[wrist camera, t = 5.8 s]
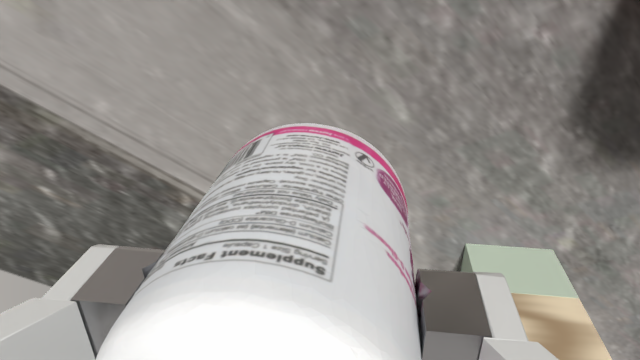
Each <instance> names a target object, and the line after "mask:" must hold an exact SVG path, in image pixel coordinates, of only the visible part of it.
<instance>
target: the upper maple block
mask: <svg viewBox="0 0 640 360" xmlns="http://www.w3.org/2000/svg"><path fill="white" fill-rule="evenodd" d="M511 294H512V297H513V300H514V303H515V305H516V308H517V311H518V313H519V316H520V319H521V322H522V324H523V327H524V330H525V332H526V335H527V338H528V341H531V342H538V343H540V344H541V345H542V346H543V347H544V348H546V349H547V350H548V351H549V352H550V353H552V354H553V355H554V356H555V357H556V358H558V359H559V360H612V359H611V357H610V355H609V353H608V351H607V349H606V347H605V346H604V344H603V342H602V340H601V338H600V336H599V335H598V333H597V331H596V329H595V327H594V325H593V324H592V322H591V320H590V318H589V316H588V314H587V312H586V311H585V309H584V307H583V305H582V303H581V301H580V300H579V298H568V297H555V296H543V295H530V294H518V293H511Z"/></svg>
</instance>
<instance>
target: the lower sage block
mask: <svg viewBox="0 0 640 360" xmlns="http://www.w3.org/2000/svg"><path fill="white" fill-rule="evenodd" d="M461 272H471V273H473V272H489V273H502V274H503V275H504V276H505V278H506V281H507V284H508V286H509V289H510V292H511V293H518V294H530V295H543V296H555V297H568V298H579V297H578V296H577V294H576V292H575V290H574V288H573V286H572V284H571V283H570V281H569V279H568V277H567V275H566V273H565V272H564V270H563V268H562V266H561V264H560V262H559V260H558V259H557V257H556V255H555V253H554V251H553V250H549V249H535V248H521V247H507V246H493V245H479V244H465V250H464V255H463V261H462V266H461Z"/></svg>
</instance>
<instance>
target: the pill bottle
mask: <svg viewBox="0 0 640 360" xmlns="http://www.w3.org/2000/svg"><path fill="white" fill-rule="evenodd" d="M96 360H421V348H420V336H419V328H418V314H417V305H416V296H415V283H414V274H413V260H412V253H411V242H410V233H409V222H408V210H407V203H406V198H405V193H404V190H403V187H402V184H401V182H400V180H399V178H398V176H397V174H396V172H395V170H394V169H393V167H392V166H391V164H390V163H389V162H388V160H387V159H386V158H385V157H384V156H383V155H382V154H381V153H380V152H379V151H378V150H377V149H376V148H375V147H374V146H372V145H371V144H370V143H368V142H367V141H365V140H364V139H362V138H361V137H359V136H357V135H355V134H353V133H350V132H348V131H346V130H343V129H340V128H336V127H332V126H327V125H320V124H312V123H297V124H289V125H284V126H280V127H276V128H273V129H270V130H268V131H265V132H263V133H262V134H260V135H258V136H256V137H255V138H253V139H252V140H250V141H249V142H248V143H246V144H245V145H244V146H243V147H242V148H241V149H240V150H239V151H238V152H237V153H236V154H235V155H234V156H233V157H232V158H231V159H230V161H229V162H228V164H227V165H226V167H225V168H224V169H223V171H222V172H221V174H220V175H219V176H218V178H217V179H216V181H215V182H214V183H213V185H212V186H211V187H210V189H209V191H208V192H207V193H206V194H205V196H204V197H203V199H202V200H201V202H200V203H199V204H198V206H197V207H196V208H195V210H194V211H193V213H192V214H191V216H190V217H189V219H188V220H187V221H186V223H185V224H184V226H183V227H182V228H181V230H180V231H179V233H178V234H177V236H176V237H175V238H174V240H173V241H172V242H171V243H170V245H169V246H168V248H167V249H166V250H165V252H164V254H163V255H162V256H161V258H160V259H159V260H158V262H157V263H156V264H155V266H154V267H153V269H152V270H151V272H150V273H149V274H148V276H147V277H146V279H145V280H144V281H143V283H142V284H141V286H140V287H139V288H138V290H137V291H136V292H135V294H134V296H133V297H132V299H131V300H130V302H129V303H128V304H127V306H126V307H125V309H124V310H123V312H122V313H121V314H120V316H119V317H118V319H117V320H116V322H115V323H114V325H113V326H112V328H111V329H110V331H109V333H108V335H107V336H106V338H105V340H104V342H103V344H102V345H101V348H100V350H99V352H98V354H97V357H96Z"/></svg>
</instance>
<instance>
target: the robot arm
mask: <svg viewBox="0 0 640 360" xmlns="http://www.w3.org/2000/svg"><path fill="white" fill-rule="evenodd" d="M164 252H165V250H157V249H147V248H136V247H126V246H121V247H120V246H112V245H100V244H99V245H95V246H92V247H91V248H90V249H89V250H88V251H87V252H86V253H85V254H84V255H83V256H82V257H81V258H80V259H79V260H78V261H77V262H76V263H75V264H74V265H73V266H72V267H71V268H70V269H69V270H68V271H67V272H66V273H65V274H64V275H63V276H62V277H61V278H60V279H59V280H58V281H57V283H56V284H55V285H54V286H53V287H52V288H51V289H50V290H49V291H48V292H47V293H46V294H45V295H44V296H43V297H42V298H32V299H30V300H27V301H25V302H23V303H21V304H19V305H17V306H15V307H13V308H10V309H8V310H6V311H4V312H2V313H0V360H96V357H97V354H98V352H99V350H100V348H101V345H102V344H103V342H104V340H105V338H106V336H107V335H108V333H109V331H110V329H111V328H112V326H113V325H114V323H115V322H116V320H117V319H118V317H119V316H120V314H121V313H122V312H123V310H124V309H125V307H126V306H127V304H128V303H129V302H130V300H131V299H132V297H133V296H134V294H135V292H136V291H137V290H138V288H139V287H140V286H141V284H142V283H143V281H144V280H145V279H146V277H147V276H148V274H149V273H150V272H151V270H152V269H153V267H154V266H155V264H156V263H157V262H158V260H159V259H160V258H161V256H162V255H163V254H164ZM415 293H416V305H417V314H418V328H419V336H420V348H421V360H559V359H558V358H556V357H555V356H554V355H553V354H552V353H550V352H549V351H548V350H547V349H546V348H544V347H543V346H542V345H541V344H540V343H538V342H531V341H528V338H527V335H526V332H525V330H524V327H523V324H522V322H521V319H520V316H519V313H518V311H517V308H516V305H515V303H514V300H513V297H512V294H511V292H510V289H509V286H508V284H507V281H506V278H505V276H504V275H503V274H502V273H489V272H473V273H471V272H457V271H442V270H427V269H418V270H417V274H416V282H415Z"/></svg>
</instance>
